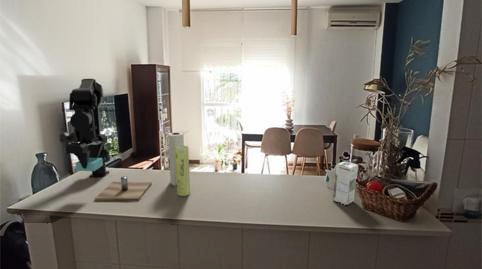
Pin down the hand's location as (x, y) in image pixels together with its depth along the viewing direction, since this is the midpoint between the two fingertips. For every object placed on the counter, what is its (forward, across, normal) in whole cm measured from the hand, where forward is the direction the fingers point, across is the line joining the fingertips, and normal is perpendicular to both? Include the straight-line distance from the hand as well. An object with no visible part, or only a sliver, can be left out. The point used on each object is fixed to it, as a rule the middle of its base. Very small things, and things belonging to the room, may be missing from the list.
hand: (89, 165), depth 110 cm
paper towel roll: (+12, -13, +29) cm, 34 cm away
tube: (+12, -2, +34) cm, 36 cm away
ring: (+1, 0, 0) cm, 1 cm away
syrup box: (+12, +2, +95) cm, 95 cm away
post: (+10, -3, +11) cm, 16 cm away
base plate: (+12, -3, +11) cm, 16 cm away
